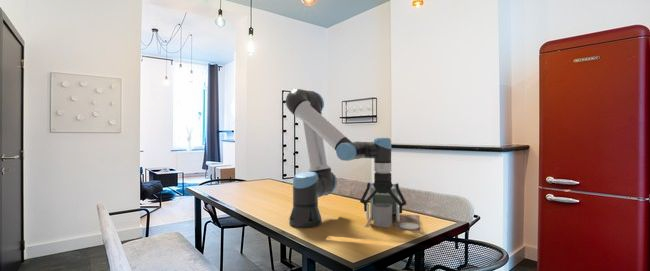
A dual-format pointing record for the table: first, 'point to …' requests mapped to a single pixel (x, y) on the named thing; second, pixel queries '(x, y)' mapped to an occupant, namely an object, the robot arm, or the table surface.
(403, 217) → the board
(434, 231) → the table surface
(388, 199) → the hood
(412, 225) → the coaster
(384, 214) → the cup
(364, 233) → the table surface
